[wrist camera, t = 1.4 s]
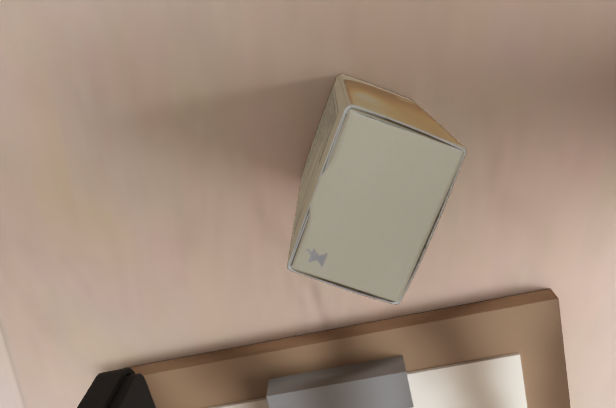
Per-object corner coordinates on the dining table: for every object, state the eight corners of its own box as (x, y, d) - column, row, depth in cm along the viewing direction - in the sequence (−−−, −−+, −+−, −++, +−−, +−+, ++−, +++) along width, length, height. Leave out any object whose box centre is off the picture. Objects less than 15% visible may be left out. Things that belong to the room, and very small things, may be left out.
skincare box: (373, 205, 32) (398, 317, 20) (298, 179, 32) (280, 279, 20) (418, 94, 30) (475, 149, 18) (339, 65, 30) (346, 102, 18)
